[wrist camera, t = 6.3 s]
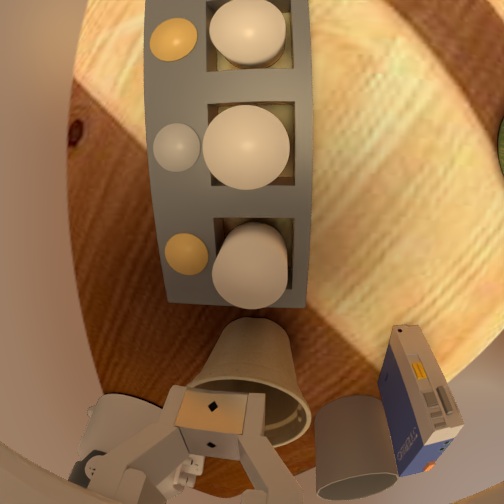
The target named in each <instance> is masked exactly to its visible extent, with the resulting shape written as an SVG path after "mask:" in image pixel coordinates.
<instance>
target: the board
mask: <svg viewBox="0 0 504 504" xmlns="http://www.w3.org/2000/svg"><path fill="white" fill-rule="evenodd" d="M230 1H232V0H146V1H145V21H144V103H145V124H146V140H147V153H148V165H149V176H150V186H151V195H152V203H153V212H154V219H155V227H156V234H157V241H158V247H159V254H160V260H161V266H162V272H163V278H164V283H165V289H166V294H167V299H168V302H170V303H185V304H201V305H220V306H235V305H232V304H231V303H229V302H227V301H226V300H225V299H224V298H223V297H222V296H221V295H220V294H219V293H218V291H217V290H216V288H215V286H214V283H213V279H212V269H213V265H214V262H215V260H216V258H217V256H218V254H219V252H220V249H221V247H222V245H223V243H224V226H223V218H293V232H292V264H291V269H287V270H288V280H287V286H286V288H285V291H284V293H283V294H282V296H281V297H280V298H279V299H278V300H277V301H276V302H274V303H273V304H271V305H269V306H266V307H275V308H305V307H306V294H307V281H308V266H309V250H310V230H311V207H312V171H313V93H312V60H311V38H310V21H309V7H308V0H266V1H268V2H270V3H272V4H273V5H274V6H276V7H277V8H278V9H279V10H280V12H290V27H291V49H292V69H287V68H272V69H241V70H225V71H217V48H216V47H215V46H214V44H213V42H212V40H211V38H210V32H209V28H210V22H211V20H212V18H213V16H214V14H215V13H216V12H217V10H218V9H219V8H220V7H222V6H223V5H224V4H226V3H228V2H230ZM238 105H293V146H294V163H293V177H277V178H276V179H275V180H273V181H272V182H271V183H269V184H267V185H265V186H263V187H260V188H257V189H251V190H241V189H236V188H232V187H230V186H227V185H225V184H224V183H222V182H220V181H219V180H218V179H217V178H216V177H215V176H214V175H213V174H212V173H211V171H210V170H209V168H208V167H207V165H206V162H205V159H204V155H203V139H204V135H205V132H206V130H207V128H208V126H209V124H210V123H211V122H212V120H213V119H214V118H215V117H216V116H217V115H218V107H220V106H238Z"/></svg>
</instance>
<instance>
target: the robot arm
mask: <svg viewBox="0 0 504 504" xmlns="http://www.w3.org/2000/svg"><path fill="white" fill-rule="evenodd" d="M87 415H88V416H89V417H90V418H89V421H88V423H87V426H86V428H85V430H84V433H83V436H82V438H81V441H80V443H79V446H78V449H77V453H78V455H79V457H80V461H78V462H76V463H75V465H74V467H73V469H72V470H71V472H70V477H69V479H68V480H66V479H63V478H61V477H59V476H57V475H55V474H54V473H52V472H50V471H48V470H46V469H44V468H42V467H41V466H39V465H37V464H35V463H34V462H32V461H30V460H28V459H27V458H25V457H23V456H22V455H20V454H18V453H17V452H15V451H14V450H12V449H11V448H9V447H8V446H6V445H5V444H3V443H2V442H0V504H166V502H167V500H169V499H171V498H173V497H174V496H176V495H178V494H180V493H182V492H183V490H184V487H185V486H187V487H191V488H192V487H194V484H195V480H196V475H201V474H202V472H203V468H204V460H205V456H208V457H216V458H223V459H231V460H240V462H241V464H242V466H243V468H244V469H245V471H246V473H247V475H248V477H249V479H250V481H251V482H252V484H253V486H254V488H255V490H248V489H247V490H246V491H244V492H243V493H242V498H241V503H240V504H303V489H302V488H301V487H300V485H299V484H298V483H297V481H296V480H295V478H294V477H293V475H292V474H291V473H290V471H289V470H288V468H287V467H286V465H285V464H284V463H283V461H282V460H281V458H280V457H279V455H278V454H277V452H276V451H275V449H274V448H273V446H272V445H271V443H270V442H269V440H268V439H267V437H265V436H264V429H265V394H264V393H249V392H232V391H219V390H218V391H213V390H206V389H198V388H192V387H185V386H178V385H173V386H172V387H171V389H170V391H169V394H168V396H167V399H166V401H165V404H164V407H163V409H161V408H159V407H157V406H155V405H153V404H150V403H148V402H146V401H143V400H140V399H137V398H134V397H131V396H126V395H121V394H106V395H103V396H101V397H100V398H99V399H98V402H97V404H96V405H95V406H92V407H89V409H88V411H87ZM451 504H504V481H503V482H501V483H499V484H497V485H495V486H492V487H490V488H488V489H486V490H483V491H481V492H479V493H476V494H474V495H472V496H469V497H467V498H464V499H461V500H459V501H456V502H453V503H451Z"/></svg>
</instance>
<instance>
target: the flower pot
mask: <svg viewBox="0 0 504 504" xmlns="http://www.w3.org/2000/svg"><path fill="white" fill-rule="evenodd" d="M185 387H192V388H198V389H206V390H213V391H218V390H219V391H232V392H249V393H264V394H265V429H264V436H265V437H267V439H268V440H269V442H270V443H271V445H272V446H273V448H274V447H279V446H282V445H285V444H288V443H290V442H292V441H294V440H296V439H298V438H299V437H301V436H302V435H303V434H304V433H305V432H306V430H307V429H308V428H309V426H310V423H311V411H310V408H309V406H308V404H307V402H306V401H305V400H304V398H303V395H302V393H301V391H300V389H299V388H298V384H297V379H296V373H295V368H294V363H293V358H292V352H291V347H290V340H289V337H288V335H287V333H286V332H285V331H284V329H283V328H282V327H281V326H279V325H278V324H276V323H275V322H273V321H271V320H268V319H265V318H250V317H243V318H240V319H237V320H235V321H233V322H231V323H230V324H228V325H227V326H226V327H225V328H224V330H223V331H222V333H221V336H220V338H219V339H218V341H217V343H216V345H215V347H214V349H213V351H212V353H211V354H210V356H209V358H208V360H207V362H206V363H205V365H204V367H203V369H202V371H201V372H200V373H199V374H198V375H197V376H196V377H195V378H194V379H193V381H192V382H190V383H189V384H187V385H186V386H185Z"/></svg>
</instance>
